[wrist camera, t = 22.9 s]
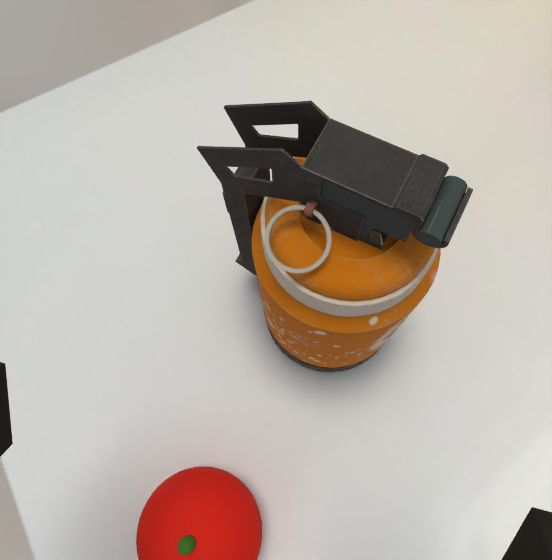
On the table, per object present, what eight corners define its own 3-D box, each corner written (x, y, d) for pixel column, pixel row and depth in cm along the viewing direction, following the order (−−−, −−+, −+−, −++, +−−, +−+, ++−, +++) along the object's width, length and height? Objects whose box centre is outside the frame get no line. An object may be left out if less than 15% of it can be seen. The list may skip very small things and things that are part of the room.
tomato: (133, 546, 31) (82, 577, 24) (193, 444, 33) (164, 443, 26) (228, 610, 30) (206, 666, 22) (285, 501, 32) (283, 518, 24)
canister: (358, 396, 34) (441, 330, 15) (217, 323, 36) (132, 182, 17) (410, 284, 36) (539, 105, 17) (275, 221, 38) (259, -2, 19)
